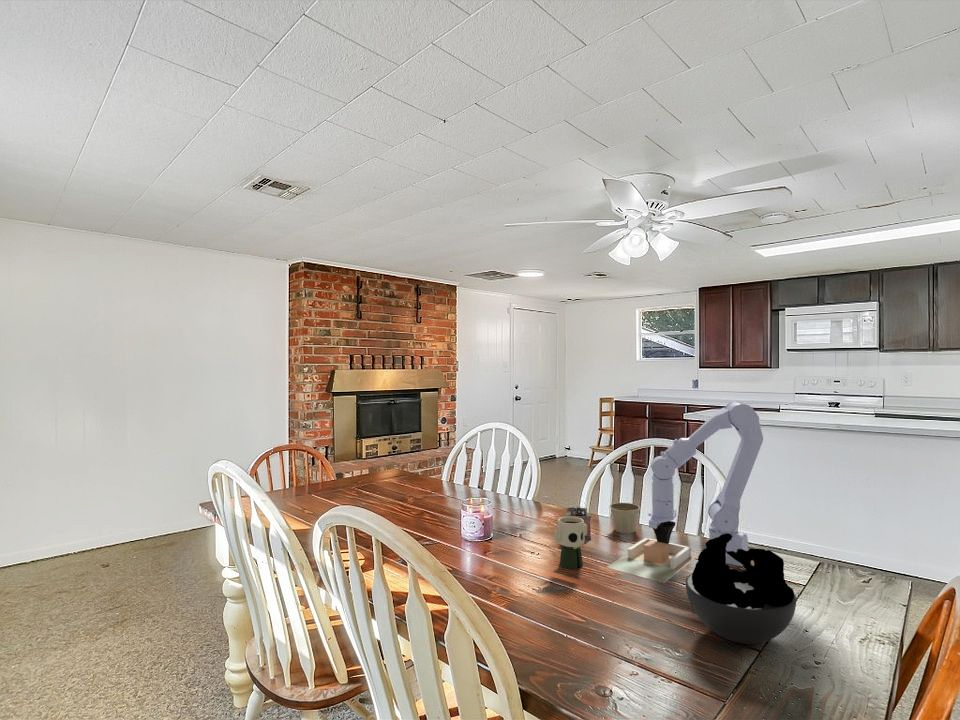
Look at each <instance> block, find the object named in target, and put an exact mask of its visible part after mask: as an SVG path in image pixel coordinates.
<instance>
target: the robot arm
mask: <svg viewBox="0 0 960 720" xmlns="http://www.w3.org/2000/svg"><path fill="white" fill-rule="evenodd" d="M733 427H734V428H735V430H736V432H737V434H738V435H739V437H740V442H739V443H738V444H739V445H738V447H737V450H736V452H735V454H734V458H733V460H732V463H731V465H730V468H729V470H728V473H727V475H726V478H725V481H724V484H723V487H722V489H721V491H720V492H719V493H718V494H717V496H716V499H715V501H713V502H712V503H711V504H710V505H709V507H708V510H707V512H708V516H709V518H710V519H711V523H710V524H709V525H708V540H709V539H714V538H716V537H719V536H720V535H722V534H726V533H728V534H731V535H732V536H733V537H732V539H731V540H730V541H729V542H728V543H727V546H726V551H734V552H737V549H743V550H745V551H748V550H749V538H748V535H747V533H744V532H741V531H739V529H738V527H739V523H740V521H739V513H740V510H741V499H742V497H743V494H744V491H745V489H746V486H747V484H748V482H749V479H750V475H751V474H752V470H753V468H754V465H755V462H756V460H757V457H758V455H759V453H760V450H761V447H762V444H763V443H764V435H763V431H762V428H761V424H760V416H759V415H758V414H757V412H756V411H755V410H754V408H753V407H752V406H750V405H749V404H746V403H743V402H741V401H737V400H736V401H730V402H729V403H727V404H726V405H725V407H722V408H720V409H719V410H718V411H716V412H714V414H713V415H712V416H710V418H708V419H707V420H706V421H705V422H704V423H703V424H702V425H701V426H700V427H698V428H697V429H696V430H694V432H693V433H691V435H689V437H680V438H679V439H677V438H676V439H674V440H673V441H672V443H673V444H672V445H670V446H669V447H668V448H667V449H666V450H664V451H660V453H659V454H660V455H658V456H656V457H654V458H653V459H652V462H651V464H650V469H651V470H652V472H653V473H652V483H651V492H652V493H651V494H652V495H651V498H652V499H651V500H652V502H651V503H652V504H651V505H652V506H651V507H652V511H650V512H648V513H647V515H648V516H649V517H650V519H649V520H648V528H651V529H652V530H653V532H654V534H655V538H656V540H657V542H661V543H666V544H669V543H670V539H671V536H672V533H673V530H674V528H675V526H676V522H675V521H674V520H675V518H676V517H677V510H676V509H675V508H674V507H675V506H674V503H675V502H674V483H673V479H674V478H673V476H674V475H675V473H676V469H680V467H682V466H684V464H685V463H687V462H688V461H689V460H690V459H691V458H693V456H695V455H696V453H697V447H699V445H701V444H702V443H704V442H705V441H706V440H708V439H710V437H711V436H714V434H716V433H717V432H719V431H720V430H725V429H732V428H733ZM725 564H727V565H734V566H739V567H743V566H744V565H742V564H741V563H739V562H738V561H736V560H735V559H733V558H732V557H731V556H730V555H729V554H727V553H726V563H725Z"/></svg>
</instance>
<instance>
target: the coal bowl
mask: <svg viewBox="0 0 960 720" xmlns="http://www.w3.org/2000/svg"><path fill="white" fill-rule="evenodd" d="M732 537H733V536H732V535H731V534H728V533H726V534H722V535H720V536H719V537H716V538H714V539H709V538H708V540H707V541H706V542H705V548H703V549H702V550H701V551H700V553H699V554H698V557H697V562H696V563H695V566H694V568H693V571H692V573H690V574H688V576H687V577H686V579H685V582H684V583H685V590H686V591H685V592H686V595H687V598H688V601H689V603H690V606H691V607H692V610H693V611H694V612H695V614H696V616H697V617H698V618H699V619H700V621H701V622H702V623H703V624H704V625H705V626H706V628H708V629H710V630H711V631H712V632H713V633H715V634H716V635H718V636H720V637H722V638H724V639H726V640H727V641H731V642H735V643H738V644H739V643H740V644H744V645H745V644H746V645H755V644H762V643H765V642H768V641H771V640H773V639H774V638H776V637H778V636H780V634H781V633H783V632H784V631H785V630H786V628H787V627H788V626H790V625H789V624H790V623H791V622H792V621H793V620H792V619H793V617H794V615H795V612H796V607H797V596H796V594H795V592H794V589H793V588H792V587H791V586H789V585H788V583H787V581H786V579H785V572H784V571H785V570H784V568H785V567H784V566H785V561H784V559H783V558H782V557H781V556H779V555H778V554H776V553H774V552H773V551H772V550H770V549H767V550H766V549H764V548H748V551H745V550H743V549H737V552H734V551H726V546H727V543H728V542H729V541H730V540H731V539H732ZM726 553H727V554H729V555H730V556H731V557H732V558H733V559H735V560H736V561H738V562H739V563H741V564H742V565H743V566H744V568H745V569H744V570H741V569H740V570H738V569H735V568H730V566H729V564H727V563H726ZM752 561H753V565H752V563H751V562H752Z"/></svg>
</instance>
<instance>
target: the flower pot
mask: <svg viewBox="0 0 960 720" xmlns="http://www.w3.org/2000/svg"><path fill="white" fill-rule="evenodd" d="M609 508H610V512H611V513H612V519H613V520H612V521H613V526H614V531H616V532H617V533H622V534H634V533H635V532H636V528H637V519H638V514H639V511H640V509H641V507H640V506H639V504H638V505H637V504H635V503H629V502H615V503H611V504H610V505H609Z"/></svg>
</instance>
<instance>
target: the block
mask: <svg viewBox="0 0 960 720" xmlns="http://www.w3.org/2000/svg"><path fill="white" fill-rule="evenodd" d="M668 559H669V544H666V543H661V542H657V541H652V540H651V541H649V542H648V543H646V544H644V560H648V561H652V562H656V563H660V564H662V563H664V562H665V561H666V560H668Z"/></svg>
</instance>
